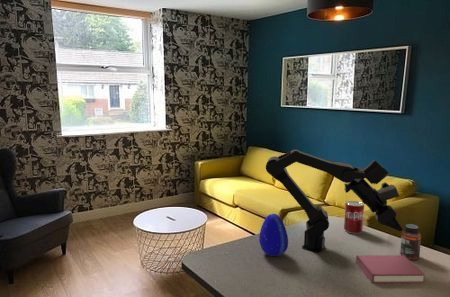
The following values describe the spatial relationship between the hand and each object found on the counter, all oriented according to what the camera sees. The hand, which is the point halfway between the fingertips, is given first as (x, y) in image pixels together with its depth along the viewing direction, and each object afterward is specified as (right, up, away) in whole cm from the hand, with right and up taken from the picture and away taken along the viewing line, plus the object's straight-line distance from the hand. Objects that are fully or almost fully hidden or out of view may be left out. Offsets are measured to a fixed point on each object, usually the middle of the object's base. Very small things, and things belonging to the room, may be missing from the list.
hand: (397, 225), depth 116 cm
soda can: (-7, -8, +23) cm, 25 cm away
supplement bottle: (+5, -11, +1) cm, 12 cm away
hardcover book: (-8, -13, -9) cm, 18 cm away
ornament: (-43, -11, +3) cm, 45 cm away
